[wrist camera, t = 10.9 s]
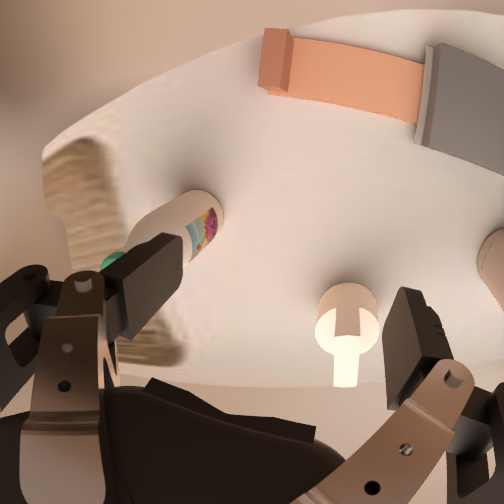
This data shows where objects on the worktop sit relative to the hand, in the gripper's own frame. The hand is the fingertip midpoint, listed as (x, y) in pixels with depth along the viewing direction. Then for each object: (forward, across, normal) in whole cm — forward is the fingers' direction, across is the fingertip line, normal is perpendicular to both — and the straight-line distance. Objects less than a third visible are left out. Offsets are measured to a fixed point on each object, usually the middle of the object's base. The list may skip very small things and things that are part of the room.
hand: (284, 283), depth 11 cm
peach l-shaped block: (+30, -2, -12) cm, 32 cm away
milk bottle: (+30, +16, +10) cm, 36 cm away
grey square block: (+30, -17, -12) cm, 37 cm away
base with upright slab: (+30, -8, +20) cm, 37 cm away
